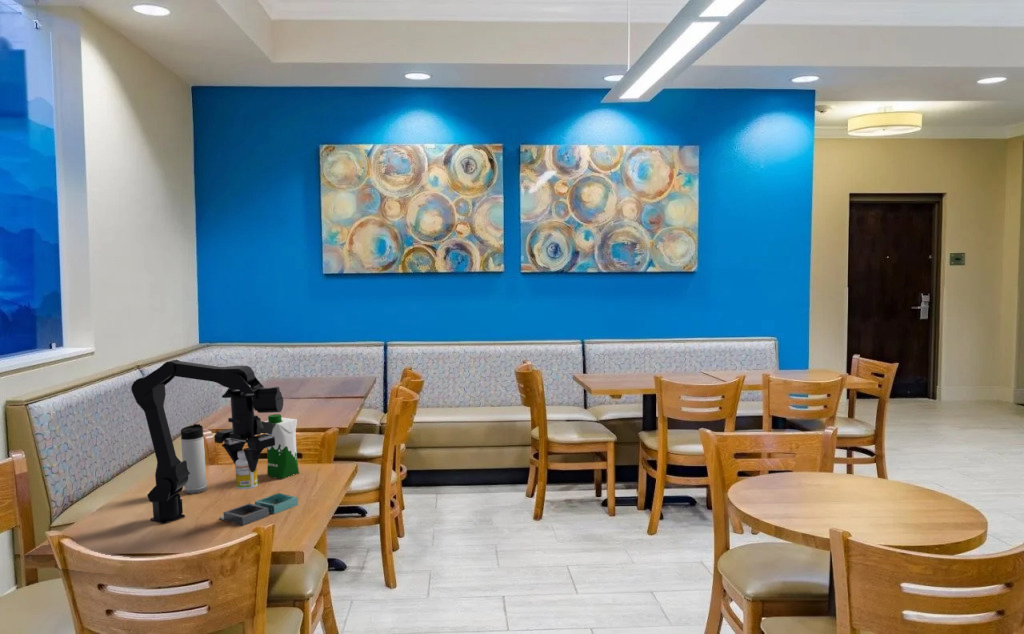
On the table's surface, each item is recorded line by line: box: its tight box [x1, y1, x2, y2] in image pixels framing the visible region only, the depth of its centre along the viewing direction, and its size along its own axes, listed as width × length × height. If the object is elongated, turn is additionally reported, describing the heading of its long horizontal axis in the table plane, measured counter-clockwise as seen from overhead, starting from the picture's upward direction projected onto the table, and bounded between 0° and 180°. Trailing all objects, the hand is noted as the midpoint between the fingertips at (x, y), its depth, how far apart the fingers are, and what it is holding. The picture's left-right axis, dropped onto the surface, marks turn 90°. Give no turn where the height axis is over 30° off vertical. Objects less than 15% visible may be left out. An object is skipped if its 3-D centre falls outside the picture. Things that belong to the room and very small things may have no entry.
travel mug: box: [180, 423, 208, 495], centre depth 221 cm, size 6×7×20 cm
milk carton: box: [264, 413, 300, 480], centre depth 235 cm, size 9×9×20 cm
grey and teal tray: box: [218, 492, 299, 526], centre depth 201 cm, size 18×10×2 cm, turn 147°
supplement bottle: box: [234, 449, 258, 490], centre depth 196 cm, size 5×5×10 cm
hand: (246, 470), depth 196 cm, fingers closed on supplement bottle, 5 cm apart
